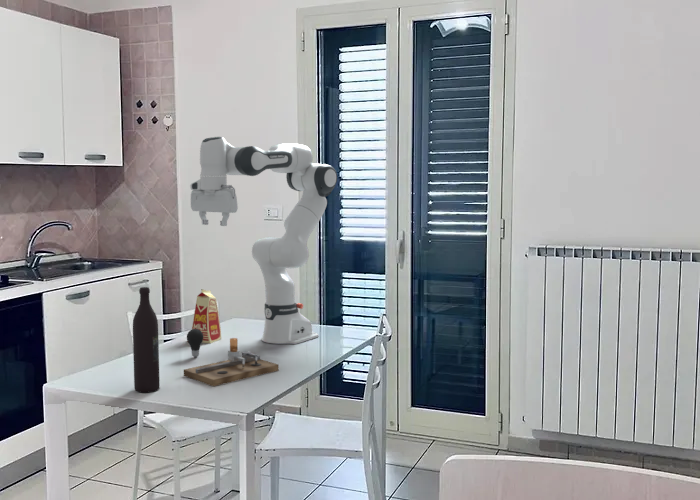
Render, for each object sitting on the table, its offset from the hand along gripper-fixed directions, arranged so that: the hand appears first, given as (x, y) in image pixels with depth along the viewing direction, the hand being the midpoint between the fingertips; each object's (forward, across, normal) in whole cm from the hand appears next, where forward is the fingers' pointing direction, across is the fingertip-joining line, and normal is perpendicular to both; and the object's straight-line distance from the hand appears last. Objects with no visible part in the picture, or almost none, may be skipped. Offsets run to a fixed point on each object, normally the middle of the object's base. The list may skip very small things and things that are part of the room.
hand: (214, 225), depth 244 cm
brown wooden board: (+45, -22, +13) cm, 52 cm away
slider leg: (+43, -22, +11) cm, 50 cm away
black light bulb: (+46, +3, +7) cm, 46 cm away
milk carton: (+46, +21, -13) cm, 52 cm away
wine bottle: (+46, -15, +40) cm, 63 cm away
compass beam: (+43, -22, +13) cm, 50 cm away
